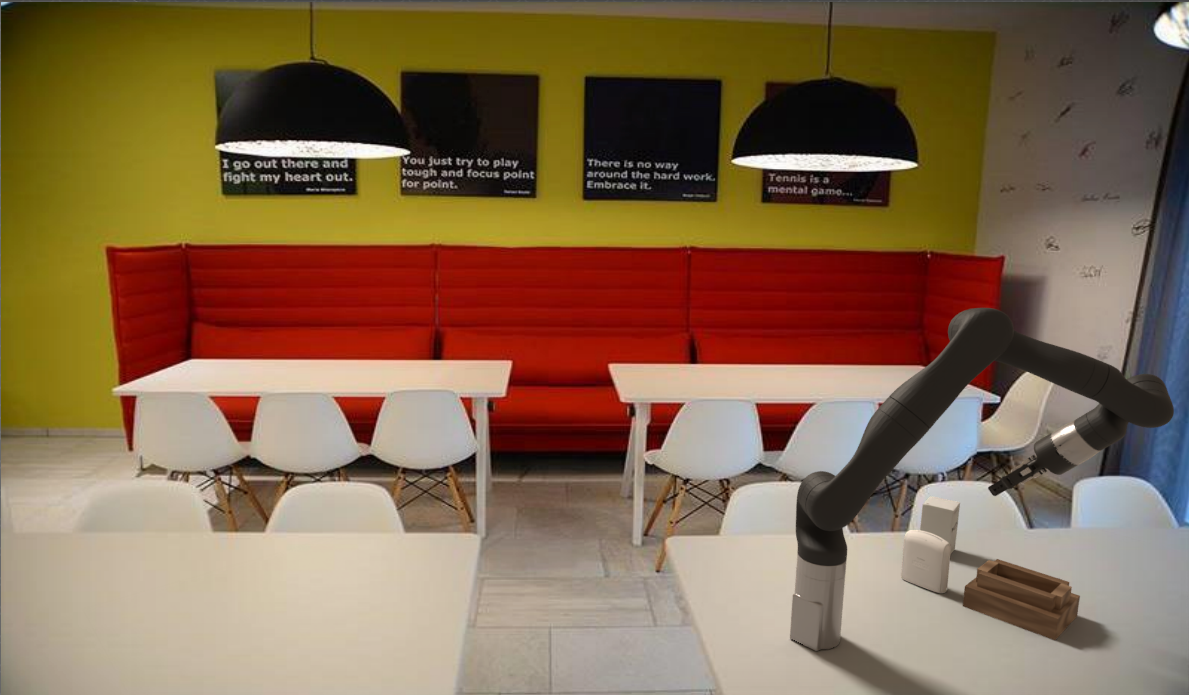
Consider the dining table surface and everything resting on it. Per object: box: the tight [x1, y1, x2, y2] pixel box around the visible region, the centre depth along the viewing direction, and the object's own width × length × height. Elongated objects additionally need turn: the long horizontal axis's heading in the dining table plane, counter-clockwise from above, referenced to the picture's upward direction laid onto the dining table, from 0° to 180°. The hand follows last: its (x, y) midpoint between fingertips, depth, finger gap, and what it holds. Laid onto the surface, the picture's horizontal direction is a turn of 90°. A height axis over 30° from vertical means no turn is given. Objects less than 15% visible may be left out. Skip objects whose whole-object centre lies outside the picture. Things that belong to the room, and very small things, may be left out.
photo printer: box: [900, 529, 952, 594], centre depth 178 cm, size 10×4×12 cm, turn 39°
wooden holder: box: [962, 558, 1081, 641], centre depth 167 cm, size 14×18×8 cm
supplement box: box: [919, 495, 961, 556], centre depth 195 cm, size 7×7×13 cm
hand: (999, 487), depth 164 cm, fingers open, 8 cm apart
